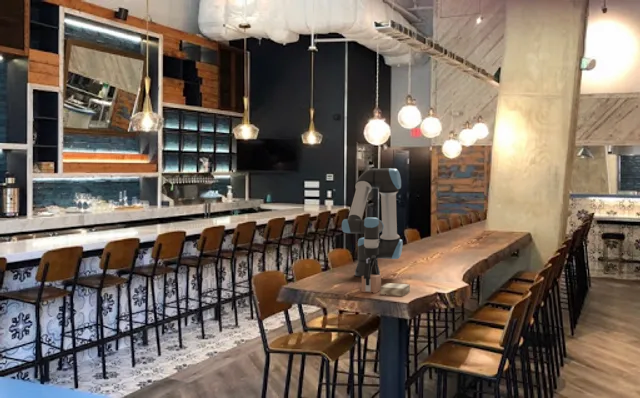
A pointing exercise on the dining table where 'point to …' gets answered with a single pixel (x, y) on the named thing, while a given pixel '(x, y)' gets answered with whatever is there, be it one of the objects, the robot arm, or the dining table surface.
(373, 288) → the terracotta cube
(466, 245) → the dining table surface
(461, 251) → the dining table surface
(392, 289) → the mottled grey-green square block
